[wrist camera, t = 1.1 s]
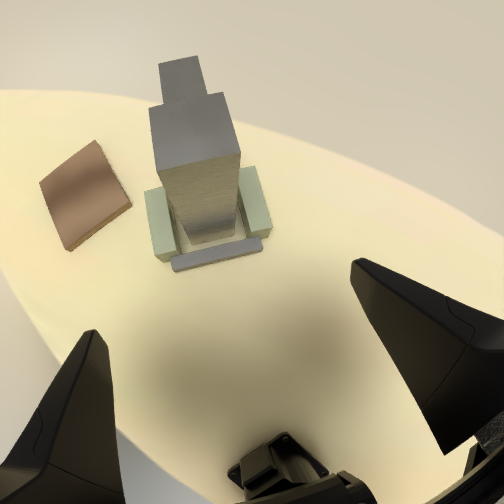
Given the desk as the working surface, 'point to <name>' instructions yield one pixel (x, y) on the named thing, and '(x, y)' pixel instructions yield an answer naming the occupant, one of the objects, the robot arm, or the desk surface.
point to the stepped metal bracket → (196, 151)
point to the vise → (255, 227)
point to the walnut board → (83, 195)
